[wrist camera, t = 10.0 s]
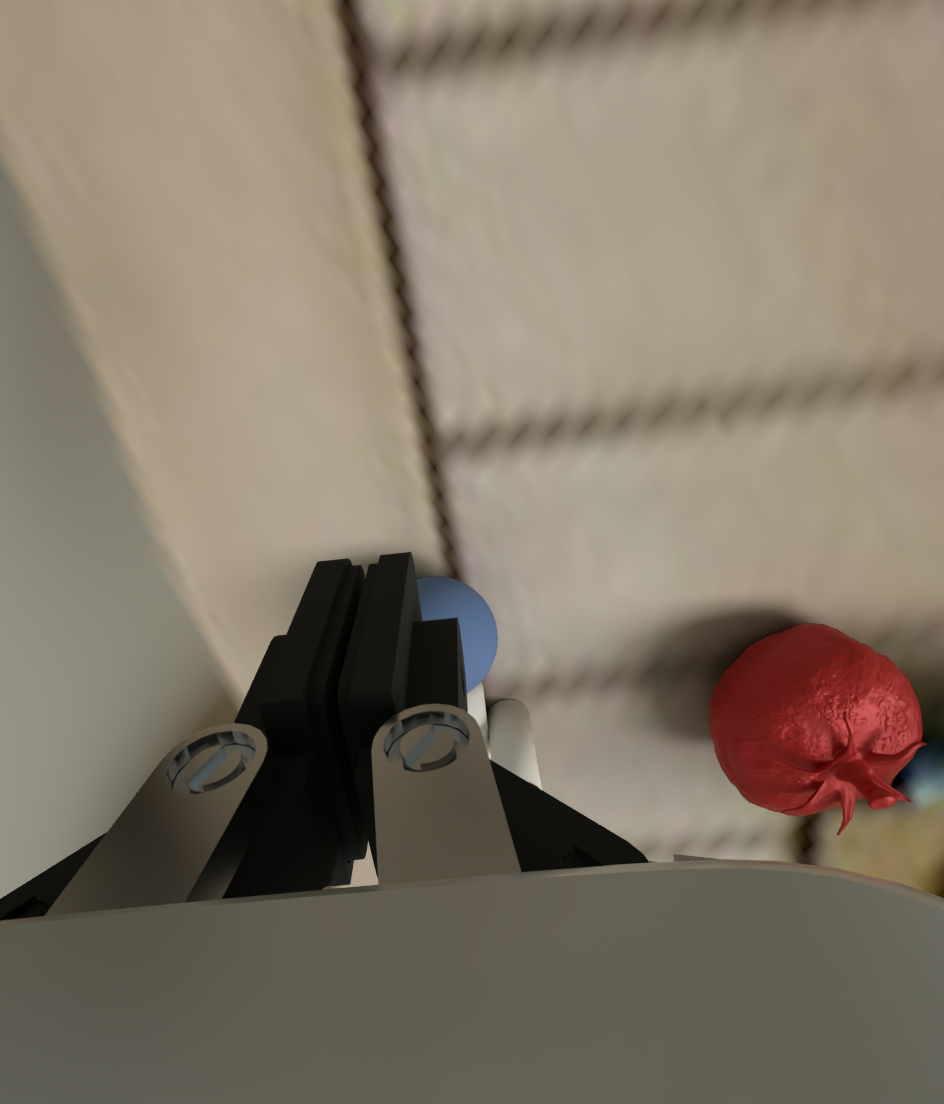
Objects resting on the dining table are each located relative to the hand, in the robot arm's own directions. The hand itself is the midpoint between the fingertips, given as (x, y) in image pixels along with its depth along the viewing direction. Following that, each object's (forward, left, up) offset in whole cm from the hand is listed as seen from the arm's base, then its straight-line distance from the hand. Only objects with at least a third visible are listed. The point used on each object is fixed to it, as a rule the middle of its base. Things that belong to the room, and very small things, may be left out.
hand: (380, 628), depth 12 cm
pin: (+19, +2, -19) cm, 27 cm away
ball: (+11, -1, -16) cm, 19 cm away
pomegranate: (+18, +18, -19) cm, 32 cm away
